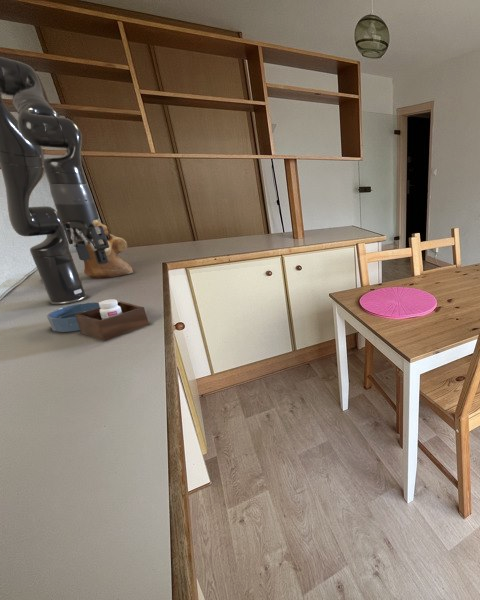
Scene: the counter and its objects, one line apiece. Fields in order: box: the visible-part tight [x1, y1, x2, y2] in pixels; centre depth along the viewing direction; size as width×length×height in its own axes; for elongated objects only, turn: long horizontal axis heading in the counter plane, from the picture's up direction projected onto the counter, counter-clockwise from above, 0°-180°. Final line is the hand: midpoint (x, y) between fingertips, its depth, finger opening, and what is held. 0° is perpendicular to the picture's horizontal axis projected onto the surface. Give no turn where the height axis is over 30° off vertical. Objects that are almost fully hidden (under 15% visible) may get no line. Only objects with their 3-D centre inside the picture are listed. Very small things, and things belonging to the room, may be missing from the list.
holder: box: [75, 300, 150, 342], centre depth 94 cm, size 12×12×6 cm
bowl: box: [46, 302, 100, 333], centre depth 97 cm, size 13×13×4 cm
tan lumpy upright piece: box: [57, 212, 134, 279], centre depth 138 cm, size 16×22×30 cm
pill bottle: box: [98, 298, 122, 319], centre depth 93 cm, size 5×5×8 cm
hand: (94, 261), depth 88 cm, fingers open, 8 cm apart
